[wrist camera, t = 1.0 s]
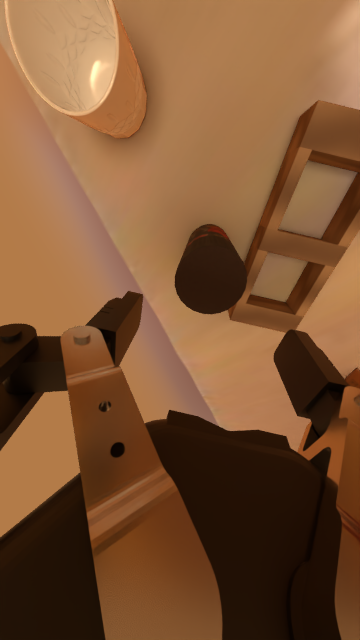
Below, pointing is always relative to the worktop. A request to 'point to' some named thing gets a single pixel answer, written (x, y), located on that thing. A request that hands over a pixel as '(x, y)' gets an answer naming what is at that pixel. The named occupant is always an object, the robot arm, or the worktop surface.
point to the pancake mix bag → (354, 379)
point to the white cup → (80, 61)
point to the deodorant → (210, 272)
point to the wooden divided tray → (323, 254)
